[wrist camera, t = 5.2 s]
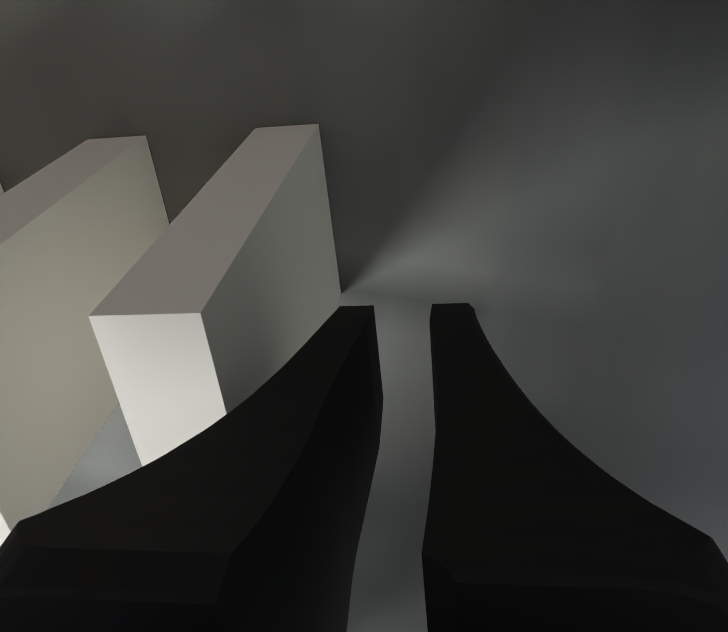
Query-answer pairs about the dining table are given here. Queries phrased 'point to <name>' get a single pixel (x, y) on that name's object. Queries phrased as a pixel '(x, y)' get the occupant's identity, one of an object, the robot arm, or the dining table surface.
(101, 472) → the dining table surface
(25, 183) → the domino
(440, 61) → the dining table surface
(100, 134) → the dining table surface
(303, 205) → the domino
